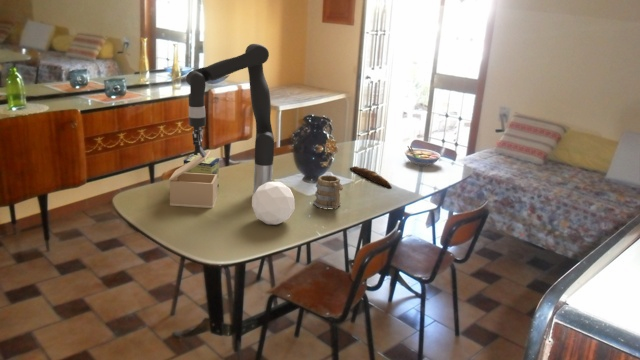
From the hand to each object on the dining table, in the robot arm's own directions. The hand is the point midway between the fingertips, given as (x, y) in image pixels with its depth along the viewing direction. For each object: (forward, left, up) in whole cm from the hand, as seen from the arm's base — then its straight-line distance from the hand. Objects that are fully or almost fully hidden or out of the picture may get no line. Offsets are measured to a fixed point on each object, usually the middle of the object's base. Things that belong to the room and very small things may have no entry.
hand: (198, 151), depth 262 cm
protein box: (+2, -19, -26) cm, 32 cm away
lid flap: (+4, 0, -8) cm, 9 cm away
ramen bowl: (-126, -86, -26) cm, 155 cm away
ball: (-37, +20, -26) cm, 49 cm away
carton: (+2, 0, -25) cm, 25 cm away
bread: (-89, -51, -26) cm, 106 cm away
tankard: (-64, -2, -26) cm, 69 cm away
